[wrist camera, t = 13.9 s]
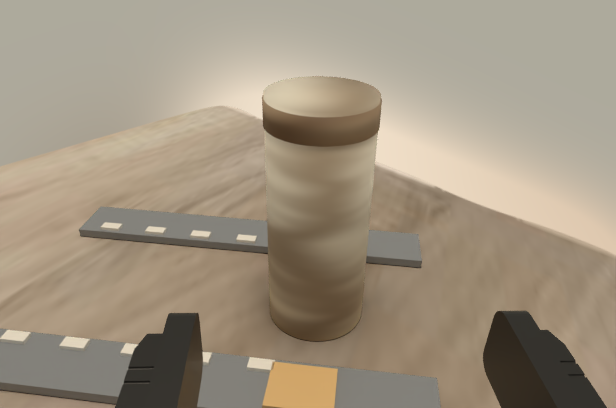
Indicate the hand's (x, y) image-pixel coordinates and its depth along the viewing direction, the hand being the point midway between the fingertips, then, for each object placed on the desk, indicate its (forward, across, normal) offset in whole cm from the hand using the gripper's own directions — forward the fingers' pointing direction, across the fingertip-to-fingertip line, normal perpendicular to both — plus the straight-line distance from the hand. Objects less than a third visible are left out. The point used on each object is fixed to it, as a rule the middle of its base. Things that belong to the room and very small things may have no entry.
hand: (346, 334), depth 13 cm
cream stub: (+11, 0, +9) cm, 14 cm away
